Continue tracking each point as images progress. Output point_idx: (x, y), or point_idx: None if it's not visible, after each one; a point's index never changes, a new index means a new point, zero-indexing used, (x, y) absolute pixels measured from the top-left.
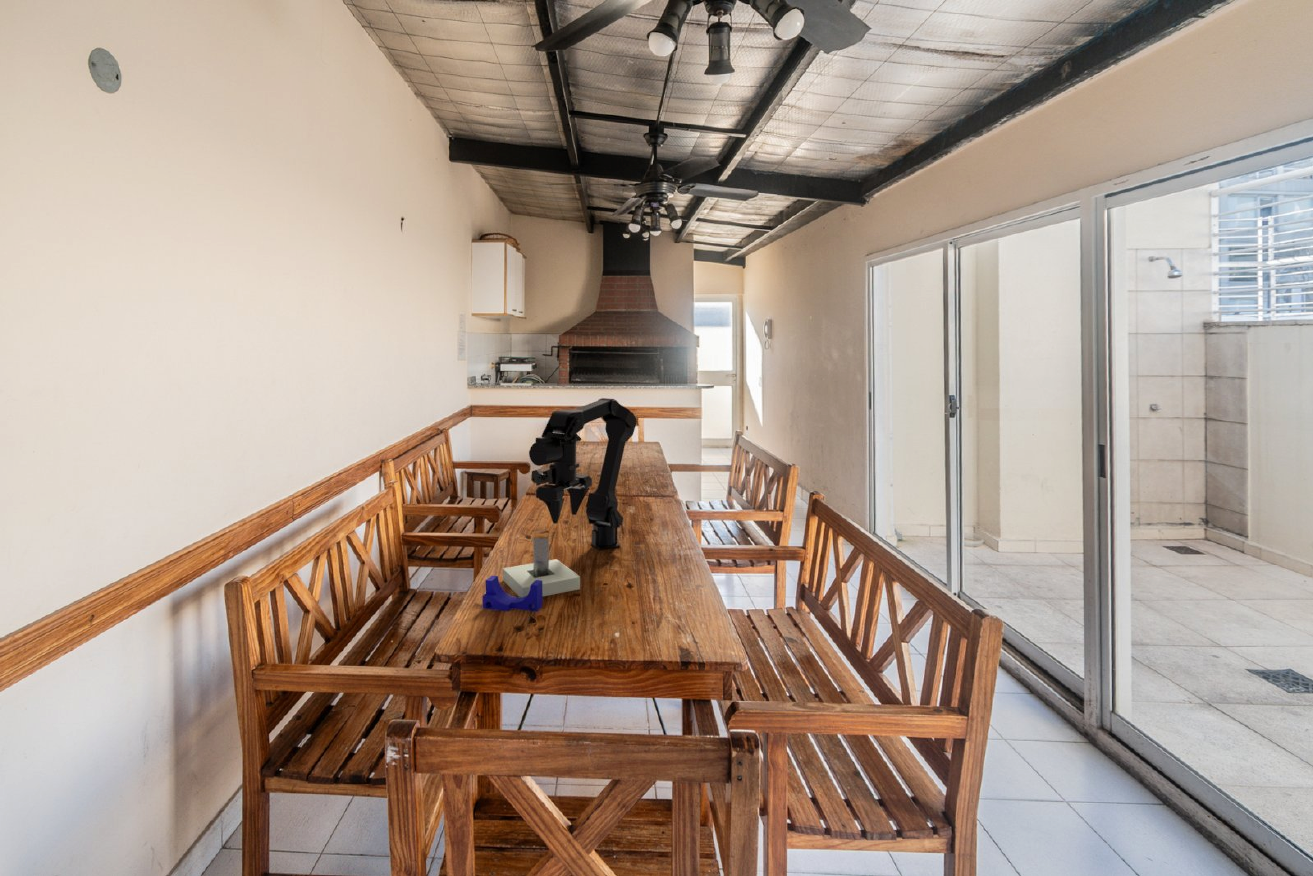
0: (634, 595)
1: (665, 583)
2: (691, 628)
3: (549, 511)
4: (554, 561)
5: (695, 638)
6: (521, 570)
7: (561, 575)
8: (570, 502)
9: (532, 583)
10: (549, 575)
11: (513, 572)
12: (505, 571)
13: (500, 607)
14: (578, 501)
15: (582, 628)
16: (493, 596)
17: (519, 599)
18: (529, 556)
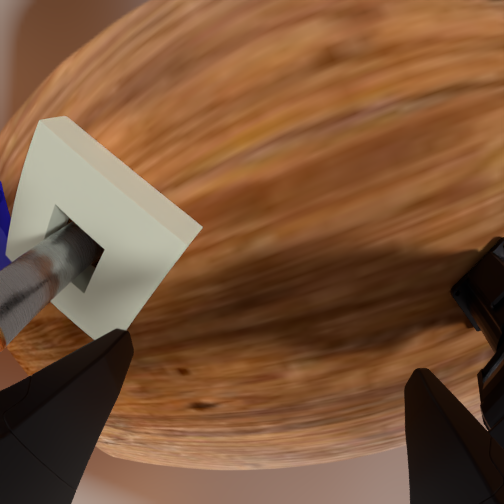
0: (164, 412)
1: (244, 442)
2: (126, 446)
3: (33, 377)
4: (161, 249)
5: (111, 444)
6: (50, 186)
7: (87, 311)
8: (460, 441)
9: None
10: (70, 282)
11: (33, 174)
12: (32, 143)
13: None
14: (416, 496)
15: (40, 356)
16: None
17: (4, 252)
18: (310, 46)
